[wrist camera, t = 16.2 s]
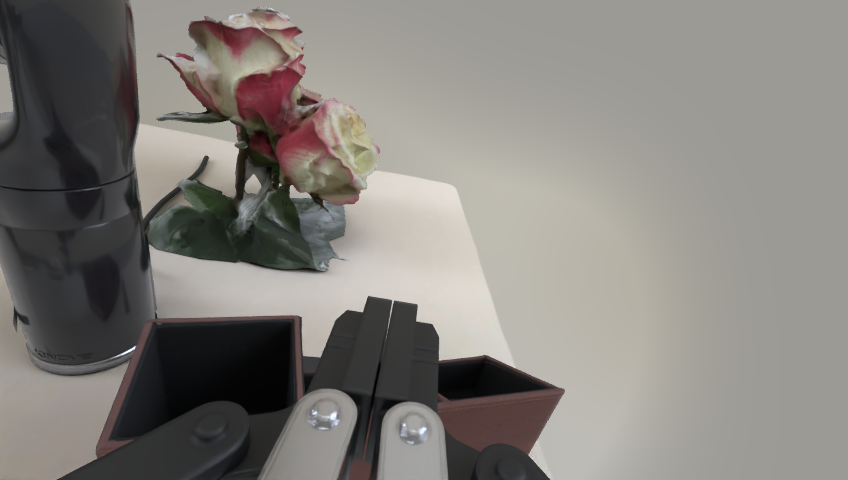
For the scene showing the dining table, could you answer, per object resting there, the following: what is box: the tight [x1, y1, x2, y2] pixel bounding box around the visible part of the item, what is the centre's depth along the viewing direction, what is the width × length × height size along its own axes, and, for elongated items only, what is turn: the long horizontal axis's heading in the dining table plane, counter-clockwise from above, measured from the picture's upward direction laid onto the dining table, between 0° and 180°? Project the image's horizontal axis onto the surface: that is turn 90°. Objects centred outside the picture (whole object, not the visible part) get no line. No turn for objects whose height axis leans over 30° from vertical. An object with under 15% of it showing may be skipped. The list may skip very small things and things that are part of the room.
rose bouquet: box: [147, 7, 380, 271], centre depth 56 cm, size 26×29×30 cm
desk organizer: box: [96, 316, 565, 480], centre depth 30 cm, size 10×29×11 cm, turn 107°
